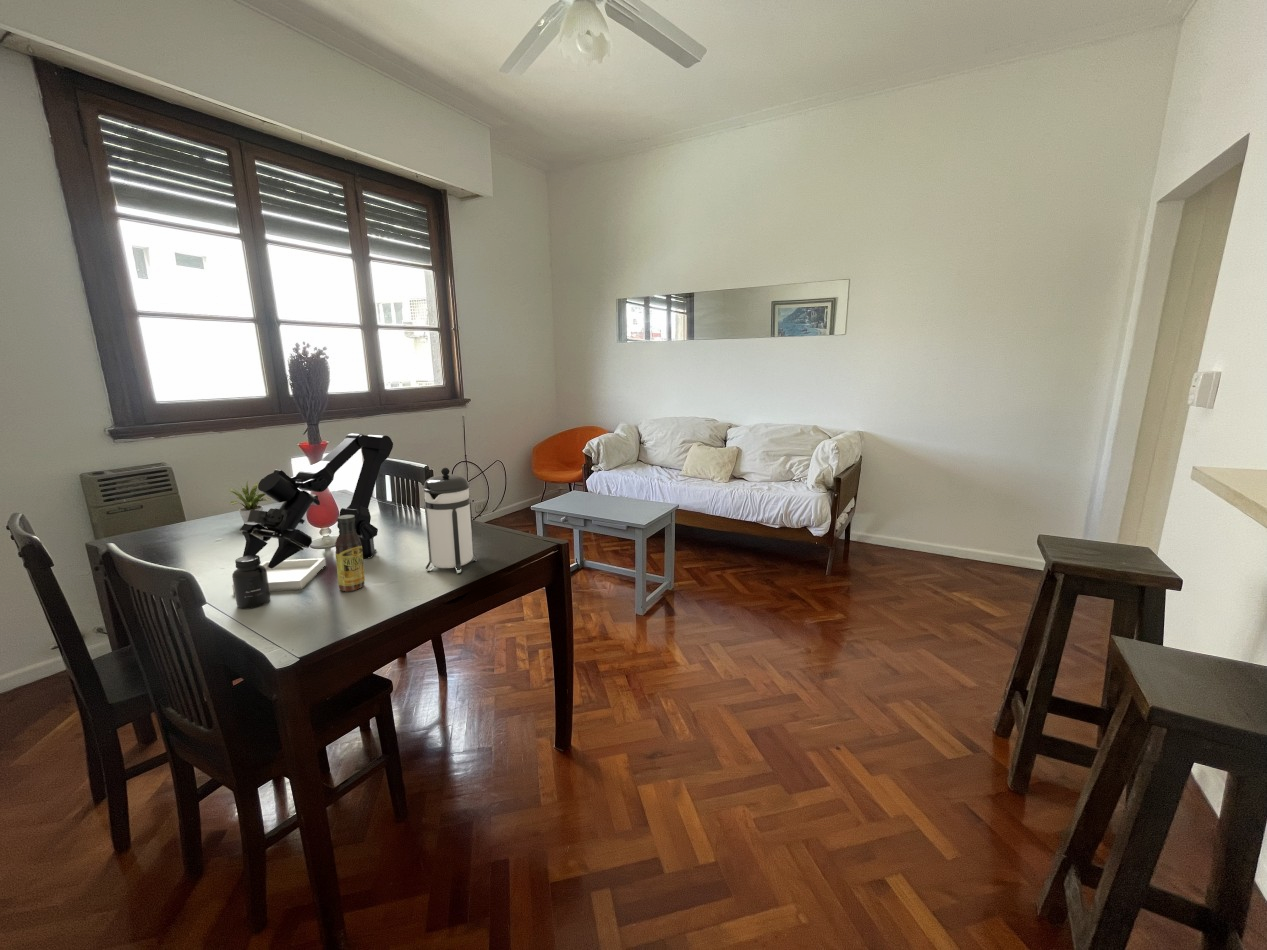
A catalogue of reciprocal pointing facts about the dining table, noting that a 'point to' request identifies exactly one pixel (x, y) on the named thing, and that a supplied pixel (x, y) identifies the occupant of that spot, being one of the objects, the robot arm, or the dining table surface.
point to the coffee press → (448, 520)
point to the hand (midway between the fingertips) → (256, 565)
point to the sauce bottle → (349, 555)
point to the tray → (292, 573)
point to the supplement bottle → (250, 582)
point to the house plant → (249, 501)
